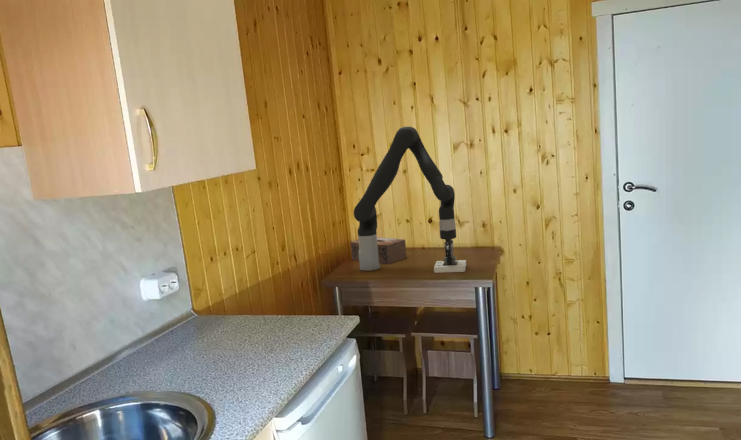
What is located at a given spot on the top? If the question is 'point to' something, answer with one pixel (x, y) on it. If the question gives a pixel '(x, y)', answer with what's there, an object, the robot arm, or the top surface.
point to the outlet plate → (450, 267)
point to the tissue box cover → (384, 250)
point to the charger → (452, 260)
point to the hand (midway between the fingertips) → (450, 263)
